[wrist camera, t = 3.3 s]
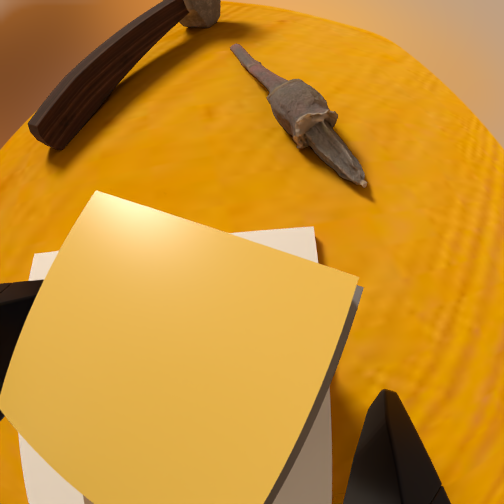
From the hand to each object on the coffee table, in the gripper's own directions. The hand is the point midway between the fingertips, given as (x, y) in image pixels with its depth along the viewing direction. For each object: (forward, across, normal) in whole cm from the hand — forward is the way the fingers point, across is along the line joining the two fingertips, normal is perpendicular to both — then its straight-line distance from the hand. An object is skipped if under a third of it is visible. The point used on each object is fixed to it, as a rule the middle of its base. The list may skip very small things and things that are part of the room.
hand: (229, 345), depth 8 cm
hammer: (+22, +25, -11) cm, 35 cm away
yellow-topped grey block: (+4, 0, +5) cm, 6 cm away
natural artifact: (+19, +6, -9) cm, 22 cm away
